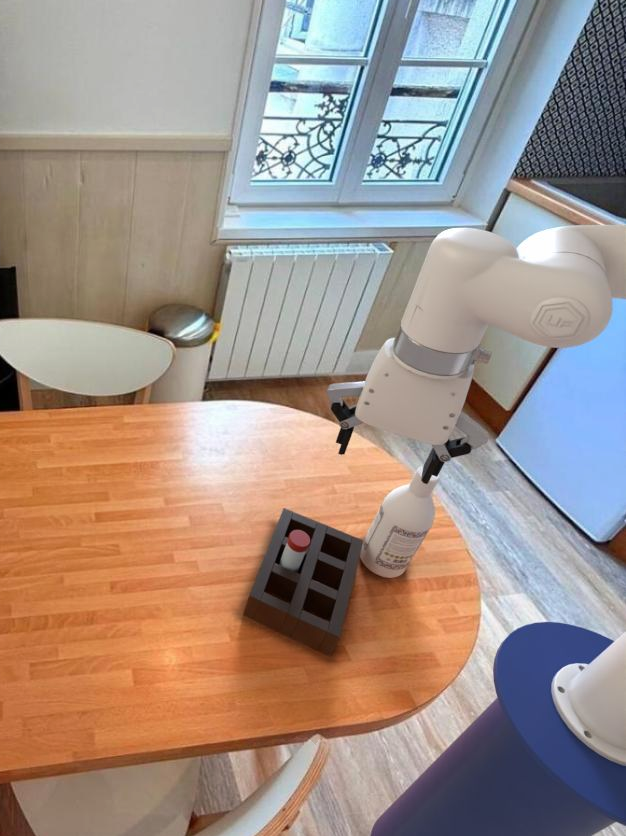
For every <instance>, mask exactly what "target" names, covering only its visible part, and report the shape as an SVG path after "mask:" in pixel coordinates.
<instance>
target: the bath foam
mask: <svg viewBox="0 0 626 836" xmlns="http://www.w3.org/2000/svg"><path fill="white" fill-rule="evenodd" d="M423 467H424V465H422V466H421V465H420V466H419V467H418V468H417V469H416V471H415V473H414V475H413V476H412V479H411V480H410V483H408V484H404V485H400V486H398V487H396V488H394V489H393V490H391V491H390V492H389V493H388V494H387V495H386V496H385V498H383V501H382V503H381V504H380V507H379V508H378V511H377V513H376V515H375V516H374V519H373V521H372V522H371V525H370V526H369V528H368V531H367V533H366V535H365V536H364V539H363V540H364V541H363V545H362V550H361V554H360V558H359V559H360V560H361V562H362V563H363V565H364V566H365V567H366V568H367V569H368V570H369V571H370V572H372V574H375V575H377V576H380V577H382V578H388V579H393V578H394V579H395V578H398V577H400V576H401V575H402V574H403V573H404V572H406V569H407V567H408V566H409V565H410V563H411V561H412V560H413V558H414V556H415V554H417V551H418V550H419V548H420V546H421V545H422V543H423V541H424V539H425V538H426V536H427V534H428V533H429V531H430V529H432V528H431V527H432V526H433V524H434V520H435V516H436V507H435V501H434V499H433V497H432V493H433V492H434V490H435V489H436V486H437V484H438V483H439V481H440V479H441V476H440V473H439V474H438V476H437V477H436V476H433V475H432V476H431V478H430V480H429V482H428V484H425V483H423V482H422V481H421V478H422V472H423Z"/></svg>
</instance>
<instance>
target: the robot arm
mask: <svg viewBox="0 0 626 836" xmlns="http://www.w3.org/2000/svg"><path fill="white" fill-rule="evenodd" d="M613 299H620V300H626V224H579V225H578V224H577V225H564V226H557V227H553V228H549V229H545V230H542V231H538V232H536V233H534V234H533V235H531V236H529V237H527V238H526V239H525V240H523V241H522V242H521V243H520V244H519V245H518V246H517V247H516V246H515V245H514V244H513V242H511V241H510V240H509V239H507V238H506V237H504V236H501V235H499V234H497V233H494V232H491V231H488V230H484V229H480V228H473V227H454V228H449V229H447V230H444V231H441V233H438V234H437V236H436V237H435V238H434V239H433V241H432V242H431V244H430V246H429V248H428V250H427V253H426V255H425V259H424V261H423V264H422V266H421V269H420V271H419V273H418V277H417V279H416V282H415V284H414V287H413V290H412V293H411V295H410V298H409V300H408V303H407V305H406V308H405V310H404V312H403V316H402V318H401V321H400V324H399V326H398V328H397V332H396V334H395V337H391V338H388V339H387V340H386V341H385V342H384V343H383V344H382V346H381V348H380V349H379V351H378V353H377V354H376V356H375V358H374V360H373V362H372V364H371V366H370V369H369V371H368V373H367V375H366V378H365V380H364V381H352V382H341V383H340V382H339V383H331V384H329V385H328V387H327V390H326V395H327V399H328V402H329V404H330V411H331V412H332V414H333V415H334V417H335V418H336V419H337V421H338V422H339V432H338V434H337V437H336V440H335V443H336V444H338V445H340V447H339V450H338V453H337V454H338V455H340V456H343V455H345V454H346V451H347V448H348V446H349V444H350V440H351V437H352V436H353V433H354V429H355V427H357V426H359V425H362V424H366V425H368V426H370V427H373V428H377V429H379V430H382V431H385V432H389V433H392V434H395V435H398V436H401V437H405V438H408V439H410V440H412V441H413V440H414V441H417V442H421V443H424V444H428V445H431V447H432V448H431V450H430V452H429V454H428V456H427V458H426V460H425V462H424V464H423V466H424V467H423V472H422V478H421V481H422V482H423V483H425V484H428V482H429V480H430V478H431V476H432V475H433V476H436V477H437V476H438V474H439V475H440V473H441V470H442V468H443V467H444V465H445V463H448V462H450V461H451V460H452V459H453V458H458V457H461V456H465V455H470V454H471V452H472V451H473V450H476V449H479V448H481V447H482V446H484V445H485V444H487V443H488V442H489V431H487V430H486V429H485V428H484V427H483V426H481V424H479V423H478V422H477V421H475V420H474V419H473V418H471V417H470V416H469V415H468V414H466V413H465V412H464V411H463V407H464V404H465V402H466V399H467V396H468V392H469V389H470V387H471V383H472V380H473V376H474V370H475V363H476V364H480V363H481V364H485V365H487V364H489V362H490V360H491V357H492V351H490V350H487V349H485V348H484V347H481V344H480V343H481V342H482V339H483V337H484V335H485V333H486V331H487V329H488V327H489V326H491V327H494V328H496V329H498V330H500V331H503V332H504V333H507V334H510V335H511V336H514V337H516V338H518V339H521V340H523V341H526V342H529V343H532V344H535V345H538V346H542V347H546V348H554V349H555V348H556V349H567V348H575V347H578V346H582V345H585V344H588V343H589V342H591V341H593V340H595V338H597V337H599V336H600V335H601V334H602V333H603V332H604V330H605V329H607V327H608V325H609V323H610V321H611V318H612V315H613V311H614V310H613V308H614V307H613V305H614V302H613ZM350 397H358V400H357V403H356V404H354V405H351V406H349V407H348V405H347V403H346V402H345V400H344V399H343V398H350ZM455 427H457V428H458V429H459V430H460V431H462V433H464V434H465V435H467V436H463V437H459V438H455V439H451V436H452V434H453V431H454V430H455ZM613 641H614V642H613V643H612V644H611V645H610V646H609V647H608V648H607V649H606V650H604V651H603V652H602V653H601V654H600V655H599V656H598V657H597V658H596V659H594V660H593V661H592V662H591V663H590V664H579V663H576V664H570V665H567V666H565V667H563V668H562V669H561V670H559V671H558V672H557V673H556V675H555V676H554V678H553V681H552V684H551V693H552V698H553V701H554V704H555V706H556V709H557V711H558V713H559V714H560V716H561V718H562V720H563V721H564V722H565V724H566V725H567V726H568V728H569V729H570V730H571V731H572V732H573V733H574V734H575V735H576V736H577V737H578V738H579V739H580V740H581V741H582V742H583V743H584V744H585V745H587V746H588V747H589V748H590V749H592V750H593V751H595V752H596V753H598V754H599V755H601V756H603V757H605V758H606V759H608V760H610V761H612V762H615V763H618V764H620V765H623V766H626V631H624V632H623V633H622V634H621V635H620V636H619V637H617V638H616V639H615V640H613Z"/></svg>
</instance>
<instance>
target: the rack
mask: <svg viewBox="0 0 626 836" xmlns="http://www.w3.org/2000/svg"><path fill="white" fill-rule="evenodd" d="M294 530H301V531H303V532H305V533H306V534H307V535H308V536H309V537H310V544H309V546H308V549H307V550H306V553H305V555H304V557H303V560H302V562H301V565H300V567H299V570H298V572H297V573H296V572H294V571H292V570H289V569H287V568H285V567H282V566H280V565H279V563H280V560H281V557H282V555H283V552H284V549H285V547H286V544H287V540H288V537H289V535H290V533H291V532H292V531H294ZM363 541H364V539H362V538H358V537H357V536H354V535H351V534H349V533H346V532H344V531H342V530H339V529H337V528H334V527H333V526H332V527H331V526H330V525H327V524H324V523H322V522H320V521H317V520H315V519H312V518H310V517H307V516H304V515H302V514H299V513H297V512H295V511H292V510H290V509H287V508H286V507H283V508H282V511H281V513H280V516H279V519H278V521H277V524H276V526H275V528H274V531H273V535H272V536H271V539H270V541H269V545H268V546H267V549H266V552H265V554H264V557H263V559H262V562H261V564H260V567H259V569H258V572H257V575H256V577H255V580H254V582H253V585H252V588H251V590H250V592H249V595H248V598H247V601H246V604H245V607H244V610H243V613H242V616H244V617H246V618H249V619H251V620H252V621H255V622H256V623H259V624H261V625H263V626H265V627H267V628H270V629H271V630H273V631H276V632H278V633H280V634H282V635H284V636H286V637H289V638H290V639H292V640H295V641H296V642H299V643H301V644H302V645H305V646H307V647H309V648H312V649H313V650H316V651H318V652H319V653H322V654H324V655H326V656H328V657H330V656H331V654H332V653H333V651H334V650H335V647H336V645H337V643H338V642H339V640H340V639H341V634H342V630H343V626H344V623H345V618H346V614H347V611H348V607H349V602H350V599H351V594H352V591H353V590H352V589H353V586H354V583H355V578H356V573H357V570H358V566H359V562H360V559H361V558H360V554H361V550H362V545H363ZM273 595H274V596H273ZM314 614H315V615H314ZM323 618H324V619H323Z"/></svg>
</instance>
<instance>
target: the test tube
mask: <svg viewBox="0 0 626 836" xmlns="http://www.w3.org/2000/svg"><path fill="white" fill-rule="evenodd" d="M309 544H310V537H309V536H308V535H307V534H306V533H305V532H303V531H301V530H294V531H292V532H291V533H290V535H289V537H288V540H287V544H286V547H285V549H284V552H283V555H282V557H281V560H280V563H279V565H280V566H282V567H285V568H287V569H289V570H292V571H294V572H296V573H297V572H298V570H299V567H300V565H301V562H302V560H303V557H304V555H305V553H306V550H307V549H308V546H309Z"/></svg>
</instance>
